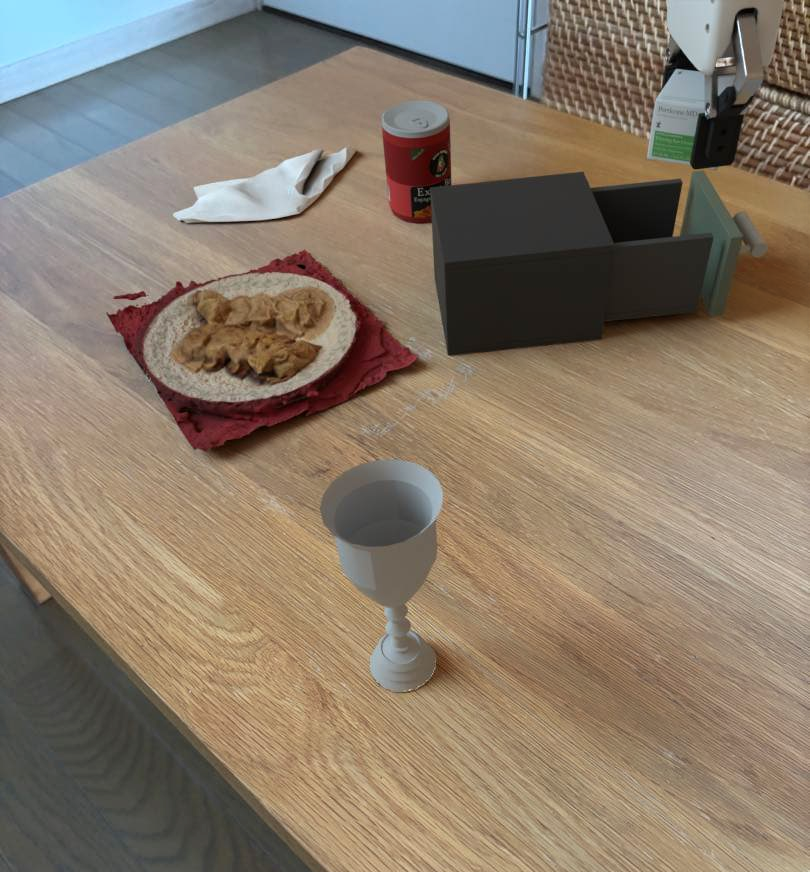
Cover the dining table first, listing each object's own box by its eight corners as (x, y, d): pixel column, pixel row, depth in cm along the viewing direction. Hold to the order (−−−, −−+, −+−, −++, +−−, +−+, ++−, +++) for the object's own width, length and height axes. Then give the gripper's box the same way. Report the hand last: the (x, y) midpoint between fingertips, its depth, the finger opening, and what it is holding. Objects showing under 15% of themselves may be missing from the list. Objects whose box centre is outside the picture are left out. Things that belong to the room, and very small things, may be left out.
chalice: (374, 719, 61) (344, 564, 48) (341, 646, 66) (303, 484, 52) (467, 680, 63) (463, 519, 49) (428, 611, 67) (415, 444, 53)
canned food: (419, 231, 102) (413, 139, 93) (375, 207, 106) (366, 116, 97) (466, 206, 104) (464, 114, 96) (422, 183, 109) (417, 93, 100)
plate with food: (201, 467, 79) (192, 440, 77) (110, 323, 93) (99, 296, 91) (421, 372, 86) (420, 344, 83) (305, 251, 100) (301, 224, 98)
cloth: (188, 247, 103) (183, 230, 101) (163, 195, 111) (158, 178, 109) (389, 190, 108) (388, 173, 106) (351, 145, 116) (349, 128, 115)
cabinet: (574, 263, 95) (583, 171, 87) (602, 339, 87) (614, 244, 78) (434, 278, 95) (430, 187, 87) (447, 355, 87) (444, 262, 79)
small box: (644, 161, 68) (653, 97, 64) (666, 128, 71) (676, 65, 67) (717, 173, 66) (731, 108, 62) (737, 139, 69) (751, 74, 65)
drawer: (726, 243, 94) (746, 165, 87) (766, 311, 86) (790, 231, 79) (555, 261, 94) (561, 185, 87) (579, 331, 86) (587, 252, 80)
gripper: (863, -106, 49) (782, 189, 62) (753, -177, 60) (705, 86, 73) (732, -89, 49) (680, 202, 62) (646, -164, 60) (617, 97, 73)
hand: (693, 138), depth 68 cm, fingers closed on small box, 7 cm apart
